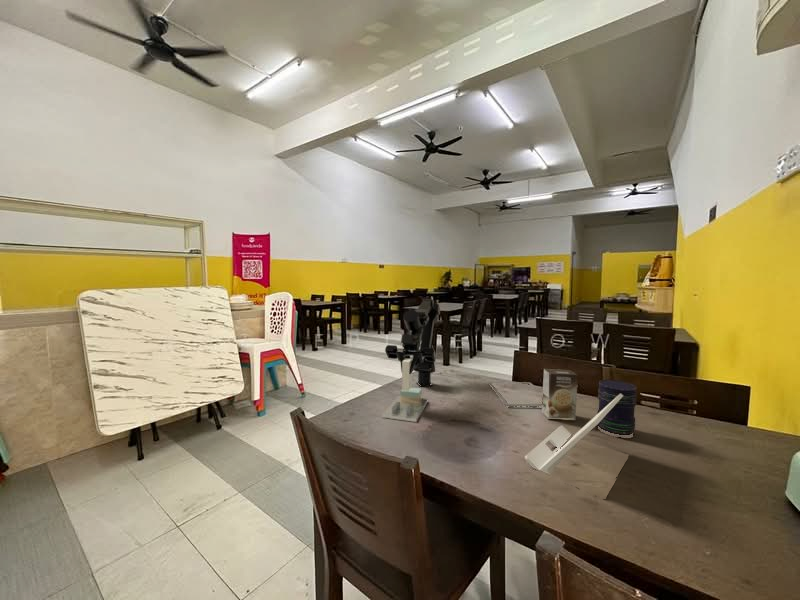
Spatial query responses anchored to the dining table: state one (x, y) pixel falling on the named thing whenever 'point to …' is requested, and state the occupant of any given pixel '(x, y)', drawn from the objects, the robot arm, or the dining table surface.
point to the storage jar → (617, 406)
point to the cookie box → (559, 393)
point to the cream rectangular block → (406, 375)
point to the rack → (405, 410)
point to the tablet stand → (550, 459)
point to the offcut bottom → (411, 399)
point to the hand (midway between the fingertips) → (406, 373)
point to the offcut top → (412, 393)
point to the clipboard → (515, 404)
